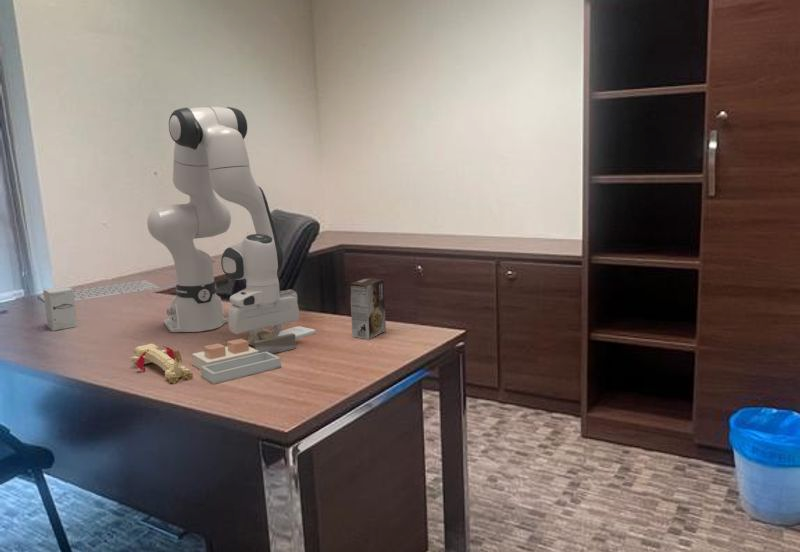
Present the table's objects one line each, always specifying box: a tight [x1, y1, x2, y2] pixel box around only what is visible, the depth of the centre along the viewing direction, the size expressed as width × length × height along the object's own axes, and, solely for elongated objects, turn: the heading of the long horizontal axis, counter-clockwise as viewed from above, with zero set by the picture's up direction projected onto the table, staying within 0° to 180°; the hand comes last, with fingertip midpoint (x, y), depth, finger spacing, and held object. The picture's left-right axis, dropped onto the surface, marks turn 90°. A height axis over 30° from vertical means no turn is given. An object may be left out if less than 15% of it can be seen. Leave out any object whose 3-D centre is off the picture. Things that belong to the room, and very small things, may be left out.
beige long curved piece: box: [129, 343, 194, 384], centre depth 174 cm, size 10×9×25 cm
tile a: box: [203, 343, 226, 359], centre depth 175 cm, size 4×4×2 cm
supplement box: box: [42, 286, 78, 332], centre depth 222 cm, size 7×7×13 cm
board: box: [191, 345, 259, 370], centre depth 178 cm, size 10×14×3 cm
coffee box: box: [349, 277, 387, 340], centre depth 200 cm, size 9×6×16 cm
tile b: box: [226, 338, 250, 354], centre depth 179 cm, size 4×4×2 cm
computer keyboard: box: [37, 279, 161, 303], centre depth 277 cm, size 43×19×2 cm, turn 128°
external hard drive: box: [271, 325, 317, 340], centre depth 203 cm, size 2×8×12 cm
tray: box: [200, 351, 282, 385], centre depth 171 cm, size 8×18×2 cm, turn 128°
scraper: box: [247, 328, 297, 355], centre depth 191 cm, size 14×12×4 cm
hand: (266, 342), depth 190 cm, fingers closed on scraper, 3 cm apart
